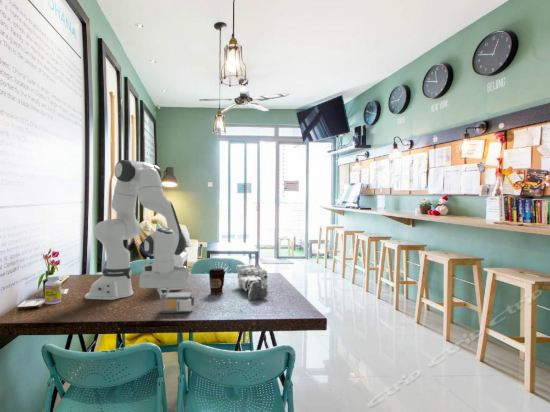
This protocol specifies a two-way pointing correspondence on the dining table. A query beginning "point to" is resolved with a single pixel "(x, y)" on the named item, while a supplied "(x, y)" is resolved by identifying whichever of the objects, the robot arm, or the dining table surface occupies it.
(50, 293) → the supplement bottle
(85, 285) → the dining table surface
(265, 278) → the spaceship
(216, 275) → the coffee cup
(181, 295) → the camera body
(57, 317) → the dining table surface
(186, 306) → the side door
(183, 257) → the gable box
